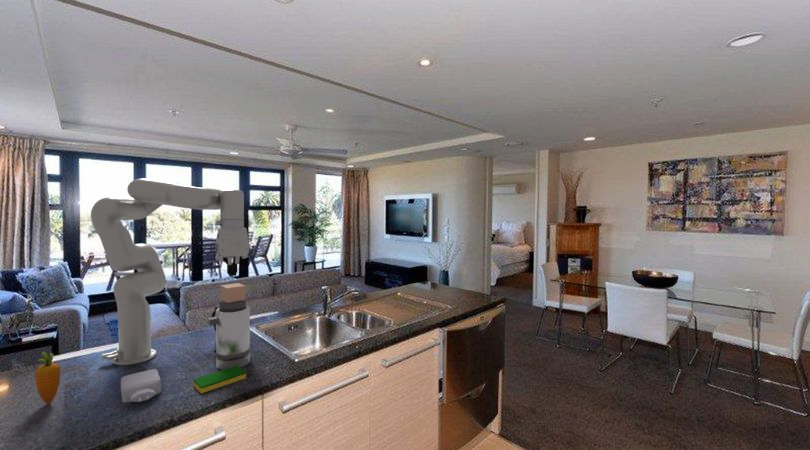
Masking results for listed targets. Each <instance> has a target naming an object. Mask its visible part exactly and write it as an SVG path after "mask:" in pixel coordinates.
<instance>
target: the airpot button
mask: <svg viewBox="0 0 810 450" xmlns="http://www.w3.org/2000/svg"><path fill="white" fill-rule="evenodd" d="M245 298H246V285H244V284H242V283H239V282H237V283H236V282H235V283H229V284H223V285H222V284H221V285H220V300H222V301H224V302H226V303H231V302H237V301H242V300H245Z"/></svg>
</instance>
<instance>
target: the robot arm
mask: <svg viewBox="0 0 810 450" xmlns="http://www.w3.org/2000/svg"><path fill="white" fill-rule="evenodd" d="M126 191H127V194H128V196H108V197H103V198H101V199H98V200H97V201H96V202H95V203H94V204H93V206H92V208H91V210H90V221H91V223H92V225H93V228H94V230H95V231H96V233H97V235H98V237H99V239H100V241H101V245H102V248H103V250H104V253H105V255H106V258H107V261H108V263H109V266H110V267H111V269H112V270H113V271H114V272H115V271H116V272H118V273H121V272H129V271H135V270H136V271H137V272H133V273H129V274H126V275H123V276H121V277H120V278H118V279H117V280H116V281H115V283H114V285H113V294H114V298H115V302H116V307H117V308H116V309H117V327H118V328H117V330H118V333H117V334H118V347H116V350H113V351H112V352H106V353H101V360H107V361H109V360H112V361H113V362H112V363H113V364H114V365H117V366H131V365H136V364H141V363H144V362H147V361H149V360H151V359H153V358H154V357H155V356H156V355H157V350H156V349H153V348H152V330H151V328H152V324H151V321H152V319H151V318H152V317H151V307H150V304H149V303H148V301H147V299H146V297H147V296H151V295H154V294H158V293H160V292H161V291H163V290H164V289H165V287H166V284H167V278H166V274H165V271H164V268H163V266H162V263H161V261H160V257H159V255H158V253H157V251H156V249H155V248H154V247H153V246H152V245H150V244H147V243H134V241H133V238H132V237H131V233H130V231H129V230H128V229H127V228H126V226H124V225H123V224H122V223H121V221H129V220H131V221H133V220H135V221H137V220H143V219H145V218H146V217H149V216H150V215H151V214H152V213H154V212H155V211H156V210H158V209H159V208H161V207H162V206H163V205H165V206H169V207H170V206H171V207H177V208H183V209H190V210H201V211H203V210H204V211H205V210H206V211H207V210H211V211H216V210H217V211H218V210H219V212H220V215H219V218H220V219H219V220H218V221H216V222H215V225H216V226H219V227H218V229H217V234H216V241H215V255H216V256H215V260H217V261H223V262H224V263H225V265H226V274H228V276H230V277H235V276H237V273H238V265H239V263H241V261H242V260H243V259H247V258H249V257H248V256H249V253H250V242H249V236H248V235H249V234H248V229H247V228H246V227H245V216H244V215H245V213H244V212H245V209H244V208H245V206H244V205H245V204H244V203H245V202H244V199H245V197H244V195H245V194H244V191H242V190H239V189H217V188H209V187H199V186H198V187H196V186H190V185H189V186H188V185H182V184H179V183H178V182H173V181H165V180H159V179H152V178H151V179H149V178H136V179H134V180H132V181H130V183H129V184H128V185H127V190H126ZM129 196H130V197H129Z"/></svg>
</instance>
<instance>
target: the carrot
mask: <svg viewBox="0 0 810 450" xmlns="http://www.w3.org/2000/svg"><path fill="white" fill-rule="evenodd" d="M40 354H41V356H42V357H43V358H44V359H43V358H39V359H37V361H38V362H42V365H40V366H38V367H37V369H36V370H35V372H34V375H35V376H34V377H35V385H36V390H37V392H38V395H39V397H40V398H41V400H42V401H43V402H44V403H45V404H47V405H51V403H52V402H53V401H54V399H55V398H56V396H57V393H58V389H59V386H60V381H61V365H60V364H59V363H56V362H53V358H54V353H52V352H50V353H49V355H48V354H47V352H46V351H42V352H41V353H40Z"/></svg>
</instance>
